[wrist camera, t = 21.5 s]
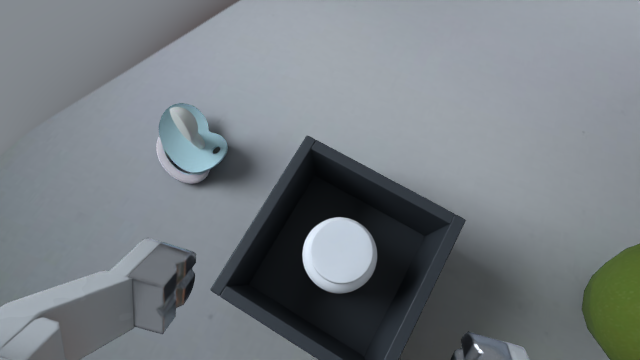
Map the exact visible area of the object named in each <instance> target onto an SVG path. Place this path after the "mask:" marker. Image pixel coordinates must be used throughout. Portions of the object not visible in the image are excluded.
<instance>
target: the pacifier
mask: <svg viewBox="0 0 640 360" xmlns="http://www.w3.org/2000/svg"><path fill="white" fill-rule="evenodd" d="M159 135H160V136H159V138H158V140H157V147H156V149H157V155H158V158H159V160H160V163H161V164H162V166H163V168H164V169H165V170H166V171H167V172H168V173H169V174H170V175H171V176H172V177H174V178H175V179H177V180H179V181H181V182H184V183H190V184H193V183H199V182H200V181H202V180H204V179H205V178H206V177H207V175H208V174H209V171H210V169H212V168H213V167H215V166H216V165H218V164H219V163H220V162H221V161H222V160H223V159H224V157H225V156H226V154H227V150H228V146H227V143H226V141H225V139H224V138H223V137H222V136H220V135H218V134H215V133H211V132H210V131H209V128H208V124H207V121H206V119H205V117H204V115H203V114H202V113H201V112H200V111H199V110H198V109H197V108H195V107H194V106H191V105H189V104H184V103H178V104H174V105H172V106H170V107H169V108H168V109H166V111H165V112H164V113H163V115H162V117H161V120H160V123H159ZM217 147H220V151H219V153H217V154H213V150H214V149H215V148H217ZM168 156H169V157H170V158H171V159H172V161H173V162H174V163H175V164H176V165H178V166H179V167H180V168H182V169H184V170H186V171H188V172H192V174H188V173H184V172H181V171H179V170H178V169H177V168H176V167H175V166H174V165H173V164H172V162H171V161H170V159H169V157H168Z"/></svg>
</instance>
